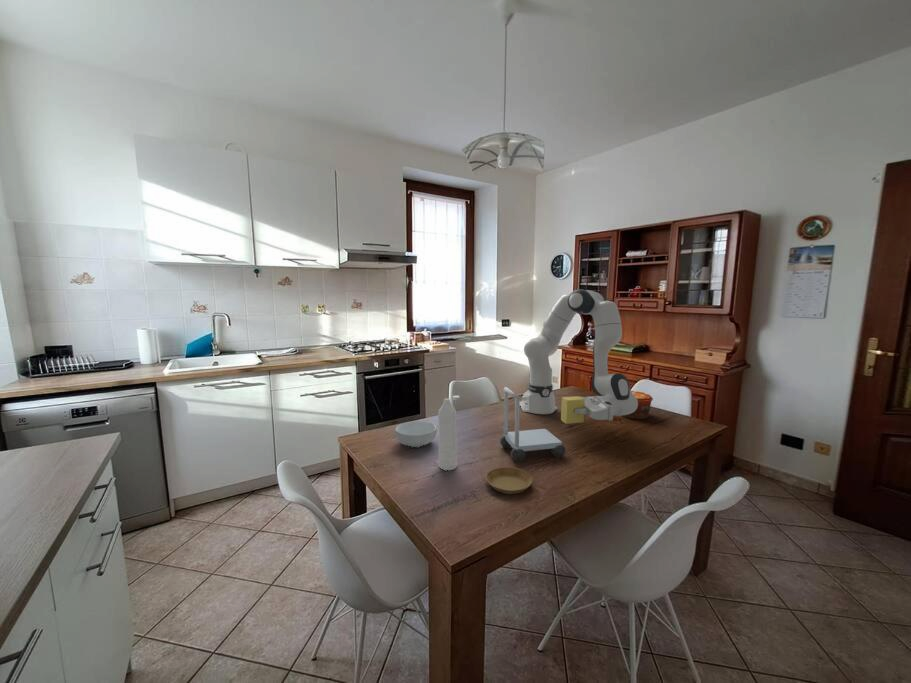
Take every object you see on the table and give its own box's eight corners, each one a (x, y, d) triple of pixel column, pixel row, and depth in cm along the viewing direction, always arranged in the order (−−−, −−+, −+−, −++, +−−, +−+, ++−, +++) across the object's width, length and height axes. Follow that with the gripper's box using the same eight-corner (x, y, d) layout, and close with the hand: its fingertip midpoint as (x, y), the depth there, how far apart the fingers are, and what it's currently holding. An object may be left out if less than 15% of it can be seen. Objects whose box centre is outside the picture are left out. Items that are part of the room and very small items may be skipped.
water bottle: (447, 472, 125) (446, 402, 122) (435, 466, 130) (434, 398, 126) (465, 464, 131) (464, 397, 127) (453, 458, 136) (452, 394, 132)
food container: (611, 415, 181) (612, 395, 180) (622, 408, 193) (623, 388, 191) (646, 423, 170) (647, 401, 169) (655, 414, 182) (656, 394, 180)
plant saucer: (508, 470, 127) (508, 462, 127) (541, 487, 116) (542, 479, 115) (476, 483, 118) (476, 475, 118) (508, 503, 107) (508, 495, 106)
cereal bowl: (445, 443, 150) (444, 426, 149) (414, 456, 138) (414, 438, 137) (418, 432, 161) (417, 417, 160) (387, 444, 149) (387, 427, 148)
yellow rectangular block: (560, 420, 154) (561, 397, 152) (578, 418, 155) (579, 396, 154) (566, 423, 149) (567, 400, 148) (583, 422, 151) (584, 399, 149)
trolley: (499, 447, 145) (500, 387, 142) (548, 442, 150) (549, 383, 146) (512, 462, 132) (513, 396, 129) (565, 457, 136) (567, 393, 133)
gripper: (587, 392, 164) (559, 394, 161) (615, 406, 144) (584, 408, 141) (586, 405, 165) (558, 408, 162) (614, 421, 145) (583, 424, 142)
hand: (570, 408), depth 151 cm, fingers closed on yellow rectangular block, 4 cm apart
